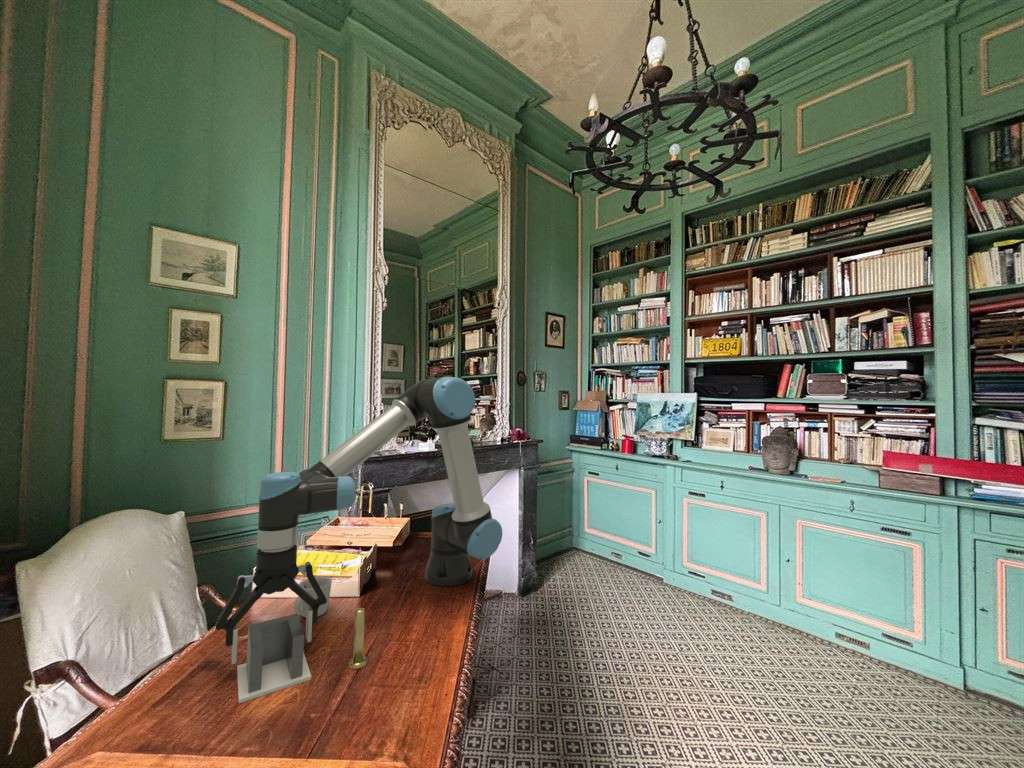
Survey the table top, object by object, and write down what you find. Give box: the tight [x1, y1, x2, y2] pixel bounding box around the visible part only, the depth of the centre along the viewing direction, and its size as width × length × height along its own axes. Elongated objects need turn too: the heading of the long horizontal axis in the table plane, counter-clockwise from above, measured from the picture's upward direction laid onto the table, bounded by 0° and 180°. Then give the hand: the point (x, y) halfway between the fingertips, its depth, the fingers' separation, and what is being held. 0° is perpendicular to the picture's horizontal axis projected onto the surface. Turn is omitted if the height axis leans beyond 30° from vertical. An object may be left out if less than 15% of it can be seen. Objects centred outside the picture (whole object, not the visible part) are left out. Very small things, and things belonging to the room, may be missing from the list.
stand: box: [348, 607, 368, 670], centre depth 87 cm, size 4×4×11 cm
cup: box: [293, 575, 333, 619], centre depth 106 cm, size 11×8×8 cm
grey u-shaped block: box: [245, 613, 305, 693], centre depth 83 cm, size 9×10×8 cm
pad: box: [236, 651, 312, 704], centre depth 83 cm, size 12×12×1 cm
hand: (272, 649), depth 86 cm, fingers open, 13 cm apart
